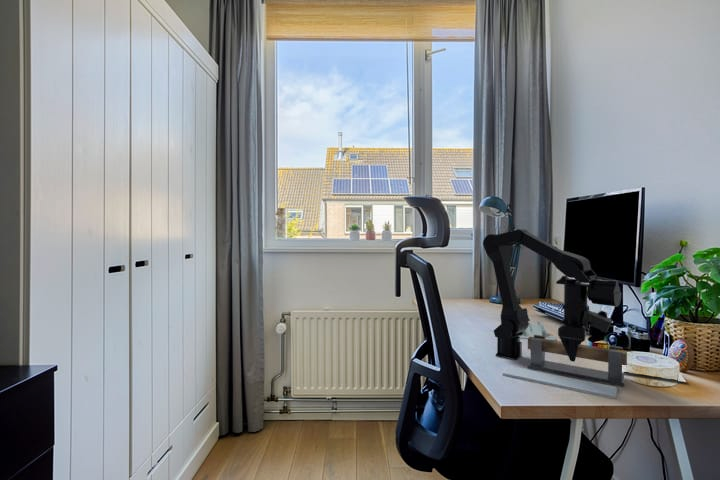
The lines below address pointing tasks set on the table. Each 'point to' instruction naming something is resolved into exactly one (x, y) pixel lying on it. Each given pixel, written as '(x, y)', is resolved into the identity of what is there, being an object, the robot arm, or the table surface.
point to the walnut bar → (579, 350)
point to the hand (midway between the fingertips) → (574, 356)
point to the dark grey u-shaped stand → (610, 377)
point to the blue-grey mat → (562, 382)
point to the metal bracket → (535, 331)
